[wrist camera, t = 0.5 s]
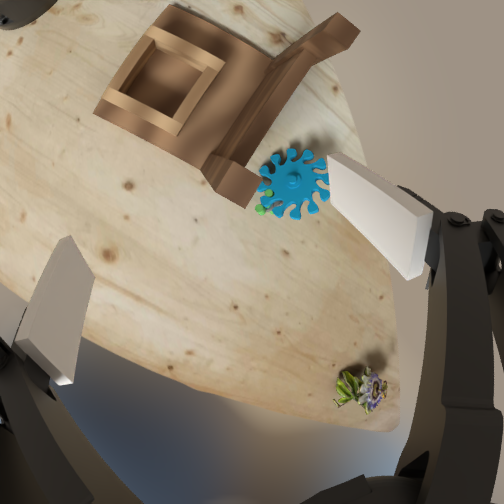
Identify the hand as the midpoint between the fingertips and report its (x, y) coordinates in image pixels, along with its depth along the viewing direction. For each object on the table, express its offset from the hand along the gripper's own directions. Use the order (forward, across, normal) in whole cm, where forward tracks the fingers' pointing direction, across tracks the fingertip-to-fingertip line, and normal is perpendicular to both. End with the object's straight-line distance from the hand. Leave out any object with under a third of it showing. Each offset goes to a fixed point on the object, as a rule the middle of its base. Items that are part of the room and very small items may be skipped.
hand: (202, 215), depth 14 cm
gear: (+25, +11, -11) cm, 29 cm away
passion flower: (+15, +19, -57) cm, 62 cm away
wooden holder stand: (+28, +2, +5) cm, 28 cm away
